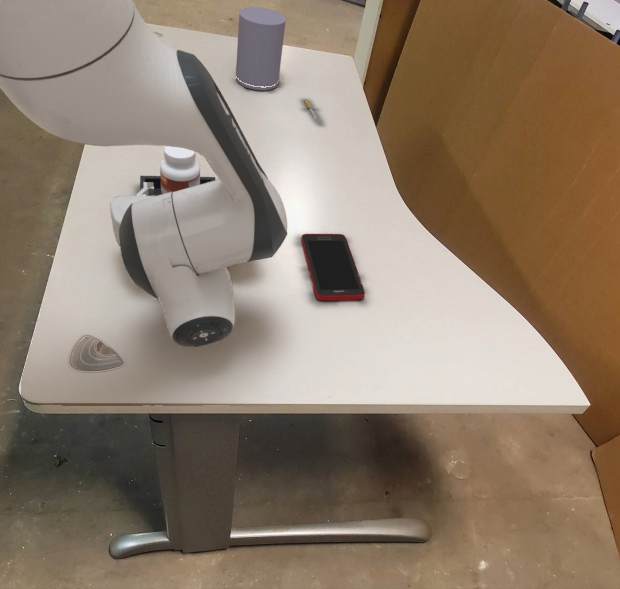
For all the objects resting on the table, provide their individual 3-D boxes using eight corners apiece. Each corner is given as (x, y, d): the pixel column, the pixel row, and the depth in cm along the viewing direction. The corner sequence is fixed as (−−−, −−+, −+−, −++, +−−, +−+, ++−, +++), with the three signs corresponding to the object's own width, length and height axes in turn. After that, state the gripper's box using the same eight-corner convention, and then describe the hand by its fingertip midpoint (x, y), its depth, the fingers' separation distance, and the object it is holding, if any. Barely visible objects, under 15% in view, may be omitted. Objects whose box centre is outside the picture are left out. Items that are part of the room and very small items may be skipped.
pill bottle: (153, 209, 86) (149, 149, 79) (178, 192, 90) (176, 134, 83) (183, 224, 85) (182, 165, 77) (207, 207, 89) (208, 149, 81)
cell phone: (343, 237, 90) (344, 233, 89) (365, 300, 80) (366, 295, 79) (299, 237, 88) (300, 233, 87) (316, 301, 78) (317, 297, 77)
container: (277, 75, 131) (285, 11, 121) (278, 94, 124) (286, 27, 114) (236, 69, 130) (240, 4, 119) (234, 88, 123) (238, 20, 112)
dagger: (324, 124, 117) (316, 122, 116) (322, 127, 118) (314, 126, 117) (310, 98, 124) (302, 97, 123) (308, 102, 124) (301, 100, 123)
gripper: (267, 224, 71) (250, 167, 80) (108, 229, 65) (108, 167, 74) (263, 258, 76) (247, 200, 85) (113, 266, 70) (113, 203, 79)
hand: (181, 185), depth 80 cm, fingers open, 8 cm apart
